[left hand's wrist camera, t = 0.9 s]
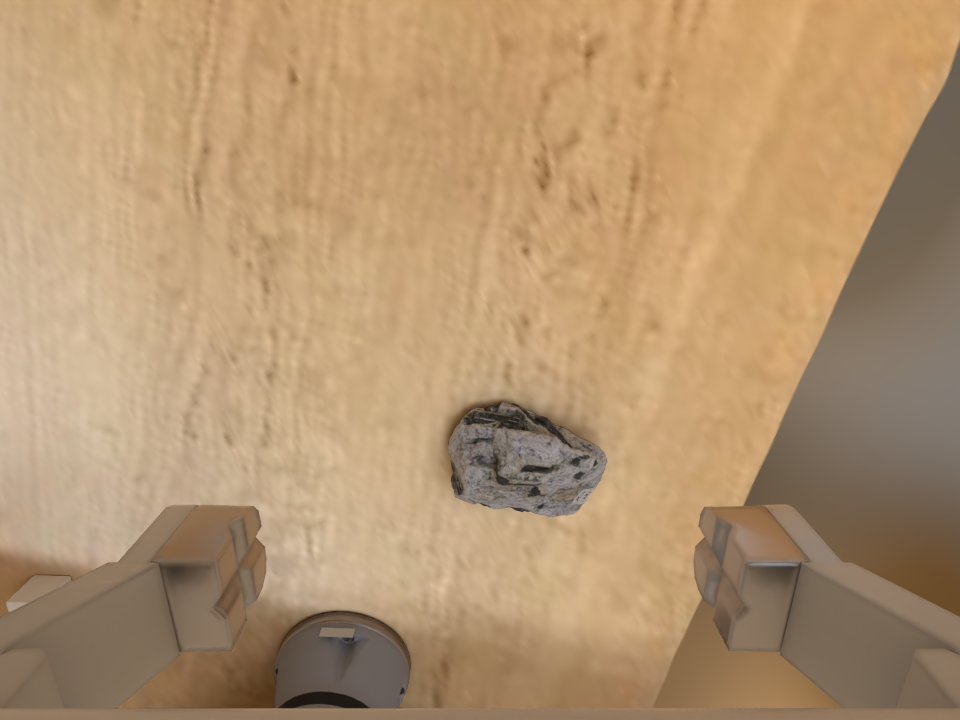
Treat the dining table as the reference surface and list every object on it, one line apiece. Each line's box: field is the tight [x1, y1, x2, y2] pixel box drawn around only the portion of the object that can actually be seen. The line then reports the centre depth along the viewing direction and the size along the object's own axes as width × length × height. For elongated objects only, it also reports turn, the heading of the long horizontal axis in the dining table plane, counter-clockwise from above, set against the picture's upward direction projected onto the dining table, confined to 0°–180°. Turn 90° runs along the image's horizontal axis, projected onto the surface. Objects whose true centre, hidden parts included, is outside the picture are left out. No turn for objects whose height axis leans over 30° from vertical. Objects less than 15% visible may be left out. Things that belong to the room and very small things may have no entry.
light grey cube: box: [6, 575, 72, 612], centre depth 61 cm, size 4×4×4 cm
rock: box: [448, 402, 607, 517], centre depth 54 cm, size 15×10×7 cm
